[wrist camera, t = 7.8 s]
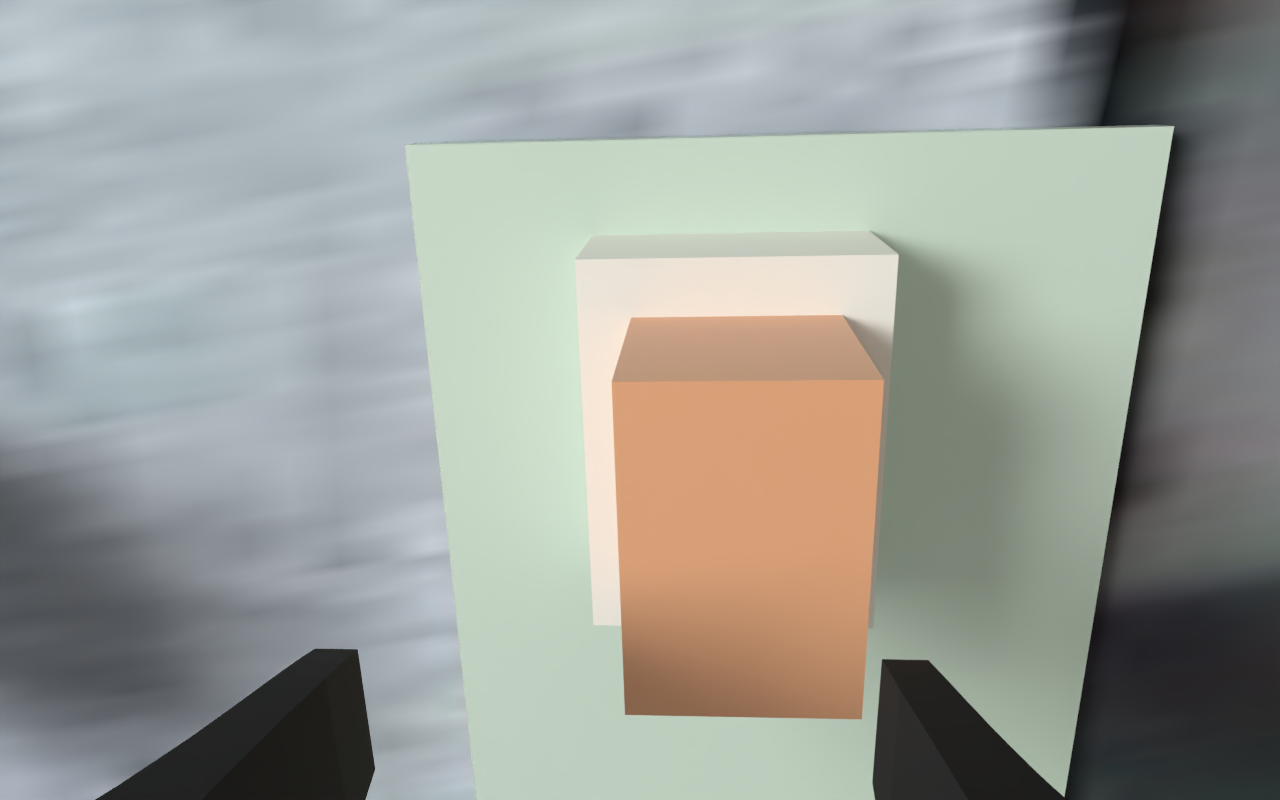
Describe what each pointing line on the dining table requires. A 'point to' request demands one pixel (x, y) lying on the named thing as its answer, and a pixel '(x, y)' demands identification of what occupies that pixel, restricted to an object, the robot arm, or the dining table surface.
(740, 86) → the dining table surface
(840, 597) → the top brick
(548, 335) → the baseplate
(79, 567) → the dining table surface
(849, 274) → the base brick
